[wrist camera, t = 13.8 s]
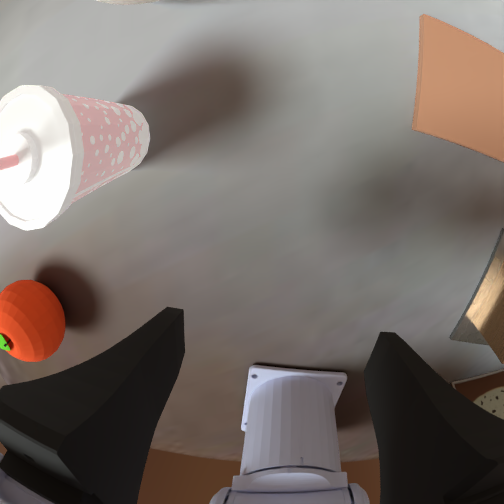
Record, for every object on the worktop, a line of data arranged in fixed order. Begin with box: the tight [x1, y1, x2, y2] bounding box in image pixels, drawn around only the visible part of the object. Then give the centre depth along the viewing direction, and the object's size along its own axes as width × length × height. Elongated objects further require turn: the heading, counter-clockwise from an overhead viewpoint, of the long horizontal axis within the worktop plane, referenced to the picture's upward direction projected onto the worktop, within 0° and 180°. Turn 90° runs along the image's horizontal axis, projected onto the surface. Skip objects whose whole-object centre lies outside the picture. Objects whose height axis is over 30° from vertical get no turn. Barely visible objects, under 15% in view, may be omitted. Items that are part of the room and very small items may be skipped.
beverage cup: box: [0, 85, 150, 231], centre depth 11 cm, size 6×6×14 cm
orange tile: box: [412, 14, 504, 162], centre depth 14 cm, size 1×8×8 cm
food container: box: [450, 369, 504, 420], centre depth 19 cm, size 12×6×10 cm, turn 94°
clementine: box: [0, 280, 65, 362], centre depth 20 cm, size 8×7×7 cm
